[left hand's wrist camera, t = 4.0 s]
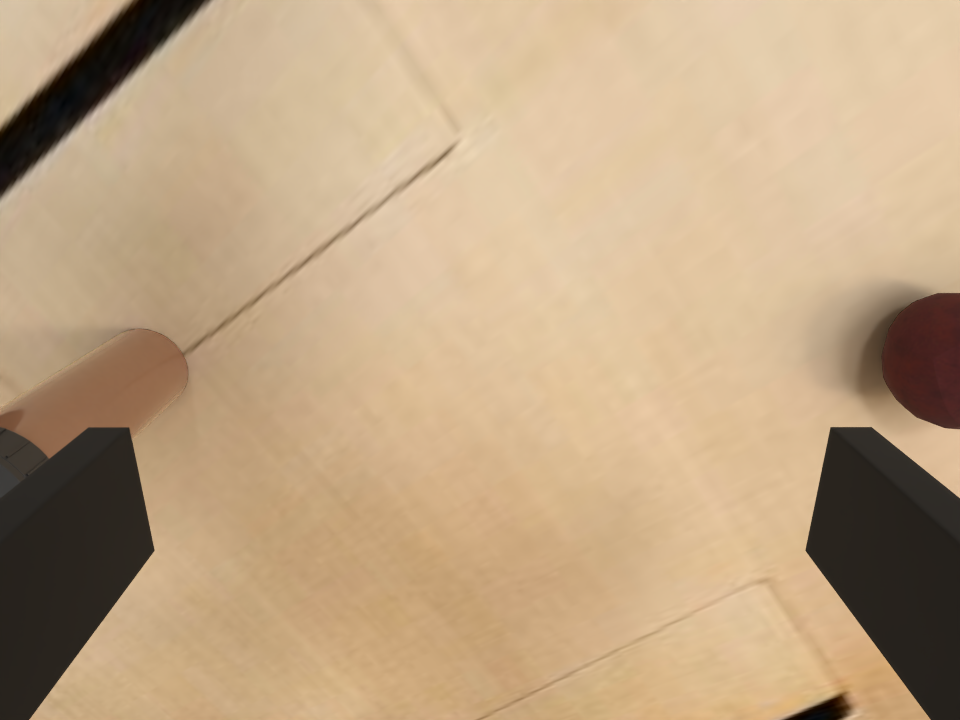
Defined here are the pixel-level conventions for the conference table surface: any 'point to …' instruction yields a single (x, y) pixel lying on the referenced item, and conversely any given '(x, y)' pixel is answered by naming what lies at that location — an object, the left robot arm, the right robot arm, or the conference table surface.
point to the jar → (101, 391)
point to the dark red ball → (926, 359)
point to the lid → (17, 459)
